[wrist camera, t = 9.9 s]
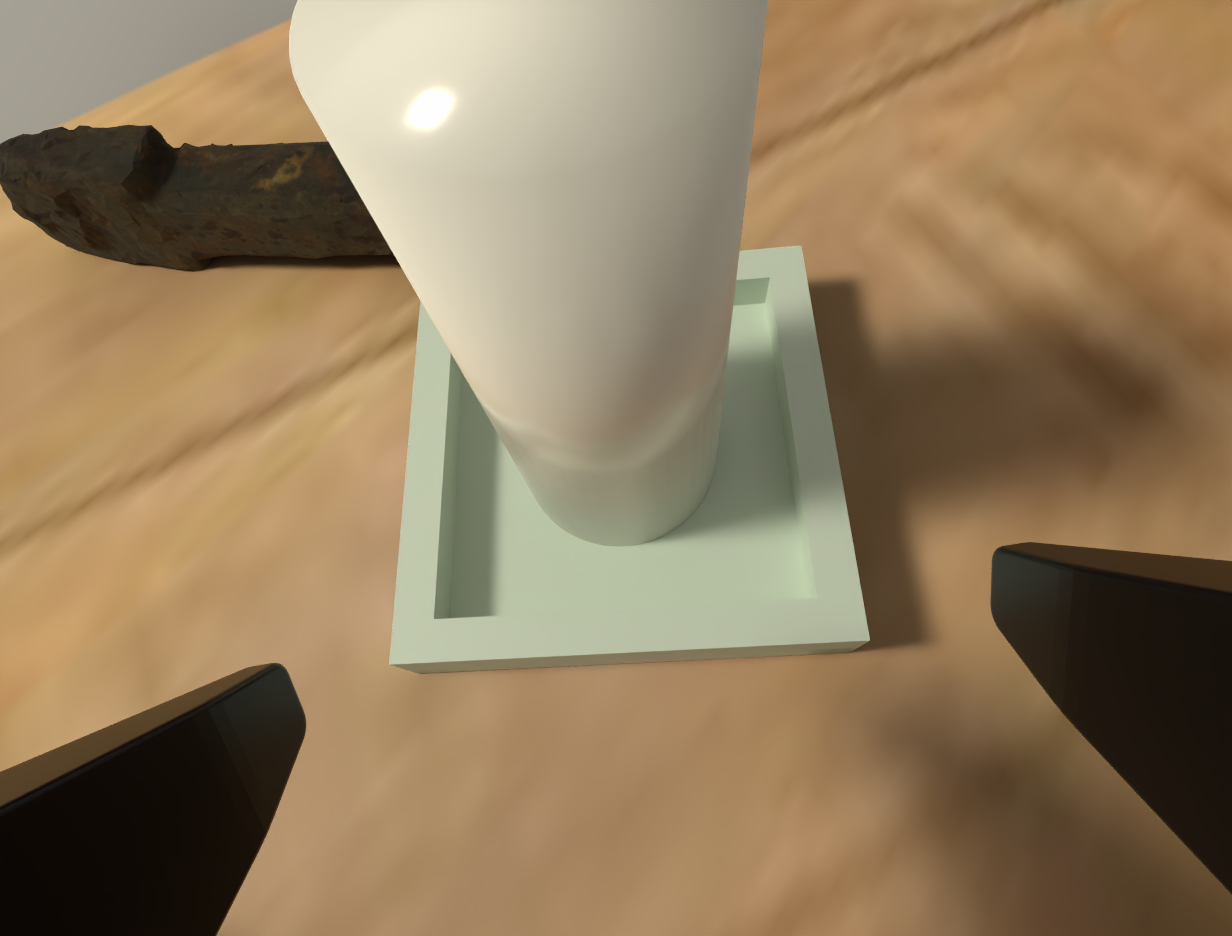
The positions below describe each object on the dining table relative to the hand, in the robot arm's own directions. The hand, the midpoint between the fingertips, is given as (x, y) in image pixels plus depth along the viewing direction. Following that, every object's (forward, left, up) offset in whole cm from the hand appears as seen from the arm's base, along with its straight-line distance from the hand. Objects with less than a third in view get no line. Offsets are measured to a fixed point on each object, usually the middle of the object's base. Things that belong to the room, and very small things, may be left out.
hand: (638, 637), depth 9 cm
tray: (+6, +1, -9) cm, 11 cm away
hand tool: (+15, +11, -10) cm, 21 cm away
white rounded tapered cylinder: (+6, +1, -8) cm, 11 cm away
